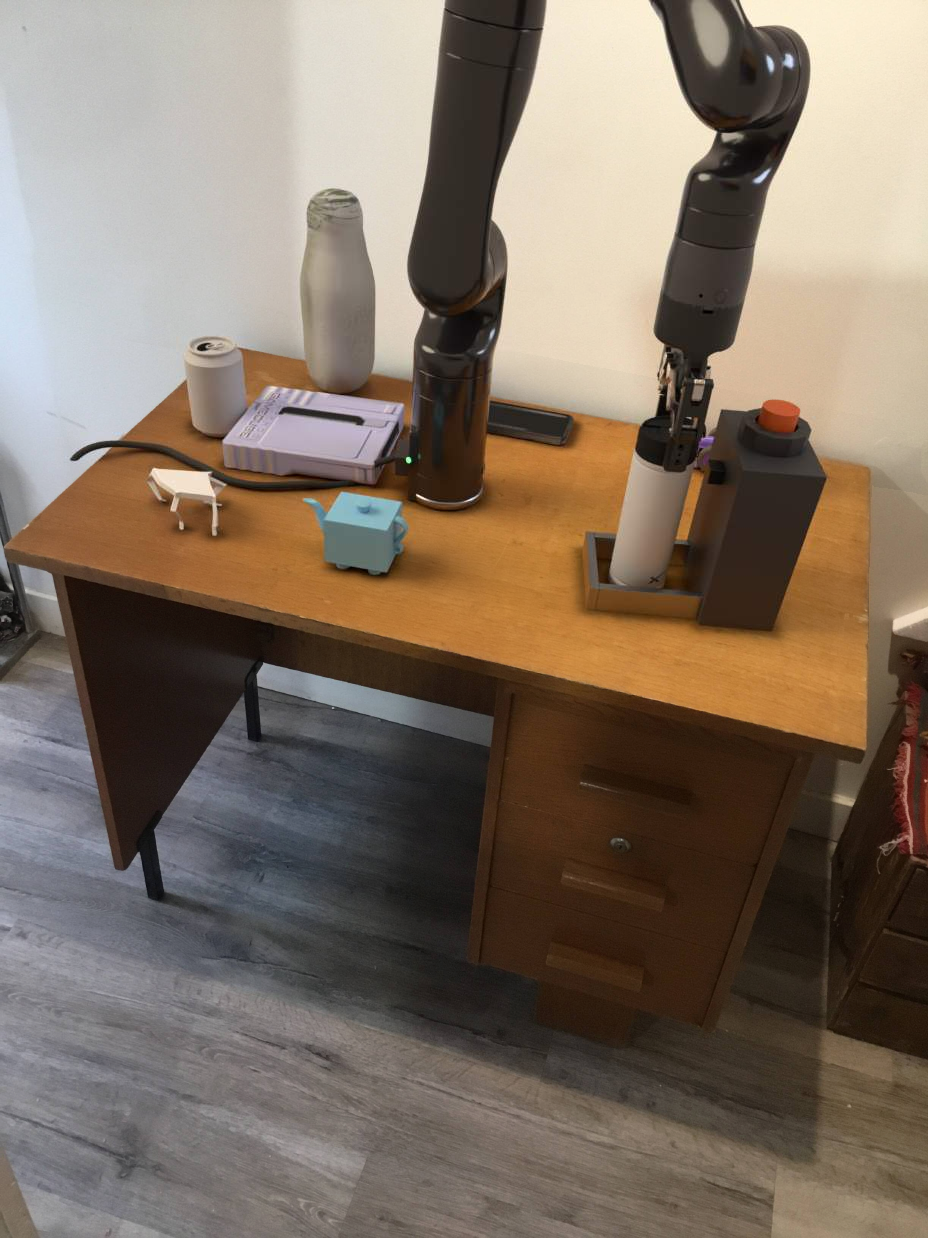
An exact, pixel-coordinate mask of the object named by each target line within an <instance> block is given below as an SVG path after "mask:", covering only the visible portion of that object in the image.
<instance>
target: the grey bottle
mask: <svg viewBox="0 0 928 1238" xmlns="http://www.w3.org/2000/svg"><path fill="white" fill-rule="evenodd" d="M362 208H363V207H362V205H361V203H360V200H359V198H358V197H357V196H356V195H355V193H353V192H352V191H349V190H345V189H341V188H326V189H322V190H320V191H318V192H315V194H313V195H312V196H311V198H310V199H309V200H308V204H307V207H306V226H307V227H306V241H305V242H306V244H305V247H304V252H303V258H302V262H301V263H302V264H301V270H300V275H299V276H300V277H299V279H300V280H299V299H300V309H301V311H300V312H301V320H302V331H303V332H302V334H303V351H304V352H303V353H304V359H305V365H306V367H307V371H308V373H309V376H310V379H311V380H312V382H313V383H314V384H315V385H316V386H317V387H318V388H319V389H321V390H323V391H325V392H326V393H329V394H336V395H341V394H342V395H343V394H349V393H352V392H355V391H357V390H359V389H360V388H362V387H363V386H364V385H365V384H366V383H367V382H368V380H369V379H370V376H371V375H372V372H373V370H374V366H375V365H374V364H375V358H376V280H375V275H374V270H373V267H372V266H373V265H372V263H371V259H370V256H369V253H368V248H367V242H366V238H365V232H364V213H363V212H364V211H363V209H362Z"/></svg>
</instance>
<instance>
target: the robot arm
mask: <svg viewBox="0 0 928 1238" xmlns="http://www.w3.org/2000/svg"><path fill="white" fill-rule="evenodd" d="M648 3H649V4H650V6H651V8H652V10H653V11H654V13H655V14H656V16H657V18H658V19H659V21H660V23H661V25H662V29H663V32H664V33H663V34H664V37H665V42H666V47H667V50H668V53H669V58H670V60H671V64H672V67H673V70H674V74H675V77H676V80H677V84H678V87H679V90H680V92H681V95H682V97H683V99H684V101H685V103H686V105H687V106H688V108H689V109H690V111H691V112H692V113H693V115H694V116H695V117H696V118H697V119H698V121H699V122H701V124H703V125H704V126H705V127H707V128H708V129H710V130H712V131H713V132H715V136H714V139H713V141H712V144H711V147H710V149H709V150H708V151H707V153H706V154H705V155H704V156H703V157H702V158H701V159H700V160H699V161H697V162H696V163H694V165H693V166H692V167H691V168H690V169H689V171H688V173H687V175H686V178H685V181H684V185H683V189H682V193H681V197H680V198H681V199H680V204H679V208H678V214H677V220H676V224H675V228H674V229H675V230H674V234H673V238H672V241H671V244H670V247H669V250H668V252H667V257H666V261H665V265H664V266H665V267H664V271H663V276H662V282H661V287H660V292H659V297H658V302H657V307H656V313H655V317H654V318H655V319H654V324H653V328H652V329H653V335H654V336H655V338H656V339H657V340H658V342H660V343H661V344H663V349H662V353H661V358H660V363H659V367H658V371H657V372H656V373H657V374H656V377H657V382H658V383H659V384H658V386H657V392H658V400H657V405H656V406H657V407H656V410H655V415H654V417H657V416H665V415H671V419H670V428H669V437H668V442H667V446H666V451H665V456H664V460H663V468H664V470H665V471H667V472H678V473H682V472H684V471H685V470H686V467H687V463H688V459H689V455H690V450H691V446H692V442H693V441H694V442H700V441H701V438H702V437H703V429H704V425H705V426H706V419H707V415H708V411H709V408H710V407H709V406H710V402H711V397H712V393H713V389H714V388H715V383H714V378H711V376H712V366H711V365H708V363H709V360H708V359H709V357H710V356H711V355H713V354H715V353H722V352H724V351H727V350H728V349H730V348H731V347H732V346H733V345H734V343H735V341H736V337H737V332H738V328H739V324H740V321H741V320H740V319H741V316H742V313H743V308H744V304H745V300H746V296H747V292H748V289H749V284H750V281H751V277H752V272H753V265H754V258H755V249H756V244H757V241H758V236H759V233H760V229H761V224H762V221H763V216H764V212H765V208H766V203H767V197H768V193H769V189H770V186H771V184H772V182H773V180H774V178H775V176H776V174H777V172H778V170H779V168H780V166H781V164H782V163H783V160H784V158H785V155H786V152H787V151H788V148H789V146H790V143H791V141H792V139H793V136H794V134H795V133H796V129H797V127H798V125H799V122H800V119H801V117H802V114H803V111H804V109H805V107H806V102H807V98H808V94H809V89H810V83H811V72H812V71H811V68H812V67H811V57H810V51H809V49H808V46H807V45H806V42H805V41H804V39H803V37H802V36H801V35H800V34H799V33H798V32H796V31H795V30H794V29H793V28H790V27H788V26H784V25H779V24H774V25H772V24H771V25H770V24H769V25H760V26H754V25H753V24H752V23H751V22H750V20H749V19H748V16H747V15H746V13H745V10H744V8H743V5H742V3H741V0H648ZM547 7H548V0H444V4H443V13H442V20H441V29H440V35H439V44H438V55H437V67H436V79H435V86H434V94H433V102H432V109H431V119H430V121H431V122H430V132H429V143H428V153H427V163H426V169H425V176H424V181H423V187H422V190H421V195H420V200H419V205H418V209H417V213H416V217H415V222H414V227H413V231H412V235H411V239H410V244H409V247H408V248H409V249H408V253H407V260H406V269H407V270H406V273H407V279H408V283H409V287H410V289H411V292H412V294H413V296H414V297H415V299H416V301H417V302H418V304H420V306H421V307H422V308H423V309H424V310H423V314H422V318H421V321H420V324H419V327H418V330H417V331H416V334H415V337H414V341H413V352H412V353H413V354H412V355H413V356H412V357H413V358H412V388H411V389H412V392H411V398H412V399H411V422H410V426H409V431H408V439H404V438H403V439H402V438H400V439H399V438H398V444H397V446H396V452H395V453H394V454H390V455H389V456H387V457H383V458H380V459H377V460H375V461H374V463H375V468H376V467H379V466H381V465H385V466H386V465H388V464H392V463H394V476H397V477H406V478H407V491H406V494H407V495H406V500H407V501H411V502H412V501H415V502H417V503H419V504H420V505H422V506H425V507H427V508H430V509H434V510H441V511H456V510H462V509H466V508H469V507H471V506H473V505H475V504H477V503H478V502H479V501H480V500H481V498H482V496H483V491H484V490H483V489H484V475H486V459H485V458H486V447H487V437H488V436H487V435H488V432H487V425H488V413H489V402H490V401H491V388H492V377H493V366H494V358H495V357H494V356H495V351H496V348H497V344H498V342H499V337H500V334H501V329H502V322H503V313H504V305H505V298H506V290H507V288H506V287H507V280H508V279H507V278H508V269H509V268H508V265H509V263H508V262H509V256H508V247H507V243H506V242H507V241H506V240H505V236H504V234H503V231H502V230H501V228H500V227H499V225H498V224H497V223H496V222H495V221H494V220H493V219H492V218H493V211H494V204H495V199H496V193H497V188H498V185H499V181H500V177H501V174H502V170H503V168H504V165H505V162H506V160H507V157H508V155H509V152H510V150H511V147H512V144H513V142H514V139H515V137H516V135H517V132H518V129H519V127H520V124H521V121H522V118H523V116H524V113H525V111H526V106H527V103H528V101H529V98H530V94H531V91H532V87H533V83H534V79H535V75H536V71H537V66H538V61H539V55H540V49H541V44H542V39H543V33H544V27H545V23H546V17H547ZM685 418H690V419H691V426H688V425H683V421H684V419H685ZM106 448H107V449H108V448H125V449H127V448H128V449H138V450H147V451H156V452H160V453H163V454H166V455H168V456H171V457H172V458H175V459H177V460H179V461H181V462H182V463H184V464H185V465H186V464H187V465H188V466H191V467H193V468H195V469H197V470H200V471H201V472H212V474H211V477H212V478H214V479H216V480H219V481H221V482H223V483H225V484H229V485H233V486H237V487H241V488H247V489H257V490H258V489H259V490H282V489H336V488H337V489H338V488H345V487H352V486H355V485H357V484H360V483H359V482H355V481H350V480H336V481H324V480H323V481H322V480H321V481H320V480H288V481H257V480H256V481H255V480H247V479H242V478H237V477H234V476H231V475H227V474H225V473H223V472H220V471H218V470H217V469H216V468H214V467H212V466H209V465H208V464H206V463H204V462H201V461H199V460H196V459H194V458H192V457H190V456H188V455H186V454H184V453H182V452H180V451H178V450H176V449H175V448H172V447H169V446H166V445H163V444H159V443H151V442H142V441H133V440H116V439H115V440H114V439H113V440H102V441H97V442H93V443H90V444H86V445H85V446H83V447H82V448H80V449H79V450H77V451H76V452H75V453H73V454H72V456H71V457H70V458H69V461H71V462H78V461H79V460H80V459H82V458H83V457H84V456H86V455H88V454H89V453H92V452H95V451H97V450H102V449H106Z"/></svg>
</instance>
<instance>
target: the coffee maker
mask: <svg viewBox="0 0 928 1238" xmlns="http://www.w3.org/2000/svg"><path fill="white" fill-rule="evenodd" d="M761 409H762V407H759V408H753V409H749V410H747V411H746V410H737V409H725V408H721V409H720V411H719V416H718V420H717V423H716V427H715V428H716V431H715V435H714V438H713V442H712V446H711V450H710V454H709V458H708V459H710V460H721V461H722V464H723V467H724V470H725V475H724V478H723V482H722V485H715V484H707V481H706V477H705V474H704V473H703V477H702V481H701V485H700V488H699V491H698V496H697V500H696V503H695V508H694V512H693V515H692V519H691V523H690V526H689V531H688V535H687V538H686V540H689V543H690V547H689V551H688V555H687V558H686V562H685V565H684V568H685V572H686V577H687V583H688V587H689V591H693V592H701V593H702V597H703V598H702V601H701V605H700V608H699V612H698V615H697V619H696V622H697V625H698V626H707V627H717V628H727V629H728V628H730V629H739V630H740V629H741V630H752V631H764V632H773V630H774V626H775V624H776V621H777V618H778V616H779V613H780V610H781V607H782V605H783V601H784V599H785V597H786V593H787V591H788V588H789V585H790V583H791V579H792V576H793V573H794V571H795V568H796V565H797V563H798V560H799V557H800V554H801V551H802V548H803V546H804V543H805V540H806V539H807V538H806V537H807V535H808V532H809V529H810V527H811V524H812V521H813V518H814V516H815V512H816V510H817V507H818V504H819V502H820V499H821V496H822V493H823V490H824V487H825V485H826V482H827V479H828V476H827V473H826V472H825V470H824V468H823V466H822V464H821V462H820V460H819V458H818V455H817V454H816V451H815V450H814V447H813V446H812V444H811V441H810V437H811V433H812V428H811V426H810V424H809V422H808V421H806V420H805V419H804V418H802V417H801V416H799V418H798V421H797V424H796V427H795V430H794V432H791V433H777V432H773V431H770V430H766V429H764V428H763V427H761V426H760V425H758V423H757V422H758V419H759V415H760V412H761Z"/></svg>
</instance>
